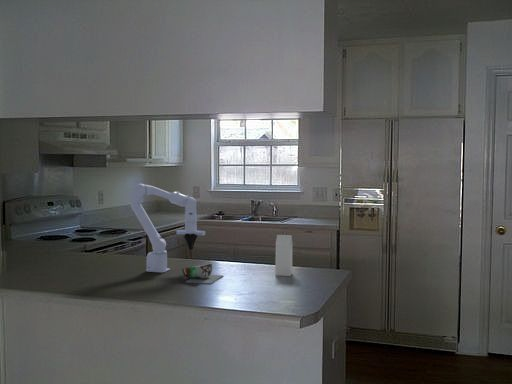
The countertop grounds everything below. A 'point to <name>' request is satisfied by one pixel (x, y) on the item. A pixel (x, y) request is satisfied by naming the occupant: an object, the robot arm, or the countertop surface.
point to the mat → (208, 280)
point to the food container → (198, 271)
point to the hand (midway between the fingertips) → (191, 249)
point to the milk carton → (283, 255)
